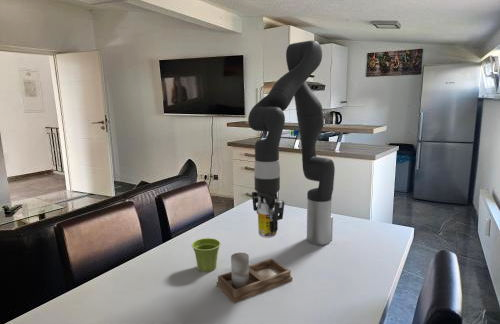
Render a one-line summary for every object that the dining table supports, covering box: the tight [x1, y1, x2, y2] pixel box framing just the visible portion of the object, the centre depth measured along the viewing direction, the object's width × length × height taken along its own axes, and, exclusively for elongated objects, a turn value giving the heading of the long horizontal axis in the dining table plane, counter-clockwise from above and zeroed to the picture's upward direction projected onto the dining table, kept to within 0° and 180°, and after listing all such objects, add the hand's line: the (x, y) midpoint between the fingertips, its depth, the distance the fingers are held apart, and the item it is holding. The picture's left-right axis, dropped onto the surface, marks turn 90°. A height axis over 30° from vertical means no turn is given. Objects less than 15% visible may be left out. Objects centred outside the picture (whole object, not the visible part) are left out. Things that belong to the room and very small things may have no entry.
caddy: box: [215, 252, 293, 304], centre depth 102 cm, size 21×11×10 cm, turn 122°
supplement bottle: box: [257, 203, 278, 239], centre depth 102 cm, size 6×6×10 cm
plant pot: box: [191, 237, 221, 273], centre depth 112 cm, size 9×9×9 cm
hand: (267, 228), depth 102 cm, fingers closed on supplement bottle, 5 cm apart
